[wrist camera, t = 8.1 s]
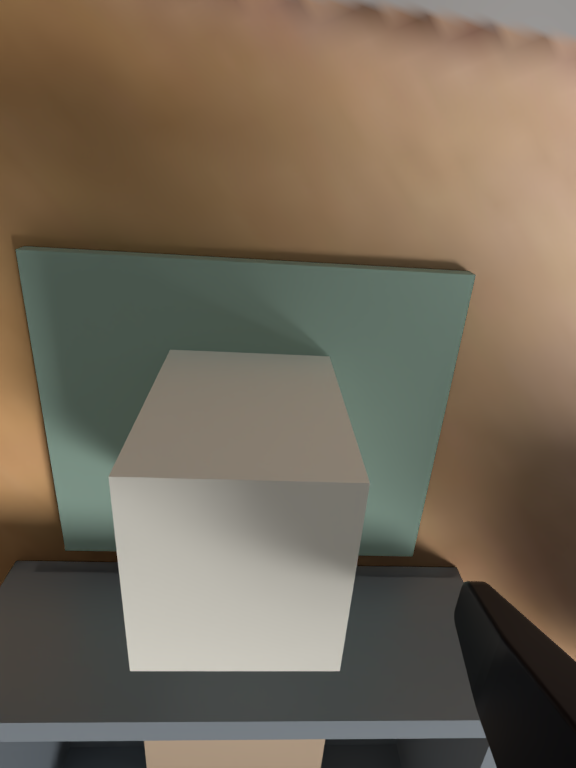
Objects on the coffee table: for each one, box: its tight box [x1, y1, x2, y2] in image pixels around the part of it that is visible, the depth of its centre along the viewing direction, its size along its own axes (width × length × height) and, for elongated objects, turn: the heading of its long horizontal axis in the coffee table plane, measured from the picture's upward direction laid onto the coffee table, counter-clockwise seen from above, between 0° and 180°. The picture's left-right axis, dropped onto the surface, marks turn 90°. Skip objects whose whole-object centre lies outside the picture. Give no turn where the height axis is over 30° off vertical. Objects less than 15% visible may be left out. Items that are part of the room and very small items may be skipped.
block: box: [108, 350, 370, 671], centre depth 12 cm, size 4×5×6 cm
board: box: [15, 246, 476, 556], centre depth 15 cm, size 12×10×1 cm
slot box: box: [0, 561, 497, 768], centre depth 18 cm, size 16×11×6 cm
